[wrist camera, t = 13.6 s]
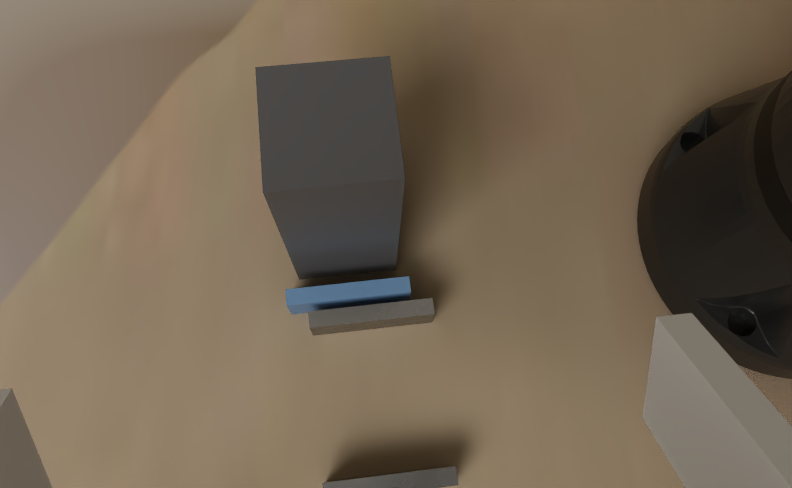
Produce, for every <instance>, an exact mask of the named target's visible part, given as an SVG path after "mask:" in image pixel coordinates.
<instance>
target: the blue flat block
mask: <svg viewBox="0 0 792 488" xmlns="http://www.w3.org/2000/svg"><path fill="white" fill-rule="evenodd" d="M410 295H411V287H410V280H409V276H406V277H397V278H387V279H378V280H369V281H360V282H350V283H341V284H332V285H323V286H313V287H304V288H295V289H286V302H287V307H288V309H289V311H290V312H291V314H298V313H307V312H309V311H318V310H327V309H336V308H345V307H354V306H363V305H372V304H381V303H390V302H399V301H408V300H410Z"/></svg>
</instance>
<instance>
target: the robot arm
mask: <svg viewBox="0 0 792 488" xmlns="http://www.w3.org/2000/svg"><path fill="white" fill-rule="evenodd" d="M637 222H638V236H639V243H640V248H641V252H642V256H643V259H644V263H645V265H646V268H647V271H648V273H649V276H650V278H651V280H652V282H653V284H654V286H655V288H656V290H657V292H658V293H659V295H660V297H661V298H662V300H663V301H664V303H665V304H666V306H667V307H668V308H669V310H670V311H671V312H672V313H673V315H668V316H659V317H656V323H655V330H654V337H653V345H652V352H651V359H650V367H649V374H648V381H647V389H646V396H645V403H644V411H643V420H644V421H645V423H646V424H647V426H648V428H649V429H650V431H651V433H652V434H653V436H654V437H655V439H656V441H657V442H658V444H659V446H660V447H661V449H662V450H663V452H664V454H665V455H666V457H667V459H668V460H669V462H670V463H671V465H672V467H673V468H674V470H675V472H676V473H677V475H678V476H679V478H680V480H681V481H682V483H683V485H684V486H685V488H792V426H791V425H790V424H789V423H788V422H787V420H786V419H785V418H784V417H783V416H782V415H781V414H780V412H779V411H778V410H777V409H776V408H775V407H774V406H773V405H772V403H771V402H770V401H769V400H768V399H767V398H766V397H765V395H764V394H763V393H762V392H761V391H760V390H759V389H758V388H757V386H756V385H755V384H754V383H753V382H752V381H751V380H750V378H749V377H748V376H747V375H746V374H745V373H744V372H743V371H742V369H741V368H740V367H739V366H738V365H737V364H739V365H741V366H743V367H746V368H748V369H751V370H754V371H757V372H760V373H763V374H767V375H772V376H776V377H783V378H790V379H792V71H791V72H790V73H789V74H788V75H787V76H786V77H784V78H781V79H778V80H776V81H773V82H770V83H768V84H765V85H762V86H760V87H757V88H754V89H752V90H749V91H746V92H744V93H741V94H738V95H736V96H733V97H730V98H728V99H725V100H723V101H720V102H718V103H716V104H714V105H712V106H710V107H709V108H707V109H705V110H704V111H702V112H701V113H699V114H698V115H696V116H695V117H694V118H692V119H691V120H690V121H689V122H688V123H686V124H685V125H684V126H683V127H682V128H681V129H680V130H679V131H678V133H677V134H676V135H675V136H674V137H673V138H672V139H671V140H670V141H669V142H668V143H667V144H666V146H665V147H664V148H663V149H662V150H661V151H660V153H659V154H658V155H657V157H656V158H655V160H654V162H653V163H652V165H651V167H650V169H649V171H648V173H647V175H646V178H645V180H644V183H643V186H642V190H641V193H640V198H639V205H638V219H637ZM0 488H52V486H51V483H50V481H49V478H48V476H47V474H46V471H45V469H44V466H43V464H42V461H41V459H40V456H39V454H38V451H37V449H36V446H35V444H34V442H33V439H32V437H31V434H30V432H29V429H28V427H27V424H26V422H25V419H24V417H23V414H22V412H21V410H20V407H19V405H18V402H17V400H16V397H15V395H14V392H13V390H12V388H11V389H1V390H0Z"/></svg>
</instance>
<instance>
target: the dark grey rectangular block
mask: <svg viewBox="0 0 792 488" xmlns="http://www.w3.org/2000/svg"><path fill="white" fill-rule="evenodd" d="M255 68H256V84H257V101H258V117H259V134H260V151H261V167H262V184H263V193H264V196H265V198H266V201H267V203H268V205H269V208H270V210H271V213H272V215H273V217H274V220H275V222H276V225H277V227H278V229H279V232H280V234H281V237H282V239H283V241H284V244H285V246H286V249H287V251H288V253H289V256H290V258H291V261H292V263H293V265H294V268H295V270H296V273H297V275H298V277H299V280H300V279H310V278H319V277H329V276H339V275H349V274H358V273H368V272H378V271H388V270H396V264H397V254H398V244H399V235H400V225H401V215H402V206H403V196H404V187H405V173H404V165H403V157H402V149H401V141H400V133H399V125H398V118H397V110H396V102H395V94H394V86H393V78H392V71H391V63H390V56H385V57H373V58H362V59H350V60H338V61H326V62H314V63H302V64H290V65H278V66H266V67H255Z"/></svg>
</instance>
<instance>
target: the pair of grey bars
mask: <svg viewBox="0 0 792 488" xmlns="http://www.w3.org/2000/svg"><path fill="white" fill-rule="evenodd" d="M308 313H309V325H310V330H311V332H312V334H313V335H321V334H330V333H339V332H348V331H357V330H366V329H375V328H384V327H393V326H402V325H411V324H419V323H428V322H432V320H433V317H434V315H435V311H434V304H433V298H427V299H418V300H408V301H399V302H390V303H381V304H372V305H363V306H354V307H345V308H336V309H327V310H318V311H309V312H308ZM322 484H323V488H439V487H447V486H455V485H458V478H457V471H456V466H448V467H440V468H432V469H424V470H416V471H408V472H400V473H392V474H384V475H377V476H369V477H361V478H353V479H345V480H337V481H329V482H324V483H322Z"/></svg>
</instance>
